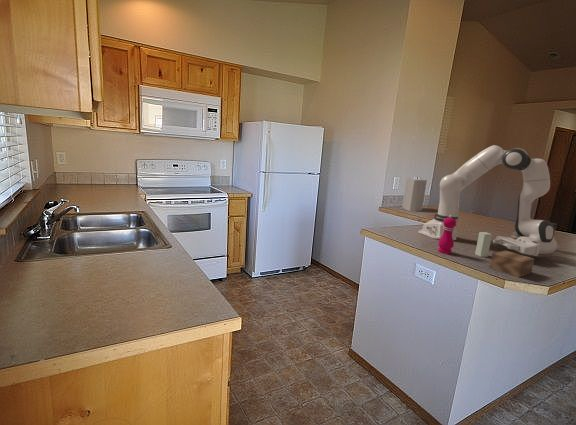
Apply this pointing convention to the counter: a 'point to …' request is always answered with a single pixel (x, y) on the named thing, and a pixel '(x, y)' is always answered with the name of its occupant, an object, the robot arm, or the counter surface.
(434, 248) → the counter surface
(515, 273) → the walnut riser block
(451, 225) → the pepper mill
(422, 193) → the paper bag
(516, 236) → the supplement bottle
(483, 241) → the sage block
